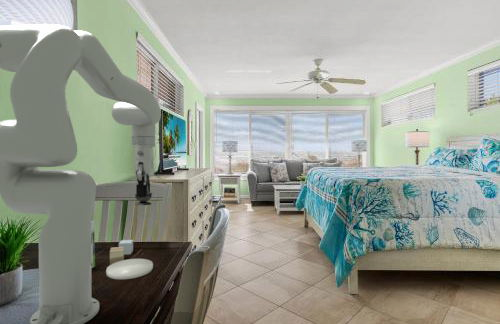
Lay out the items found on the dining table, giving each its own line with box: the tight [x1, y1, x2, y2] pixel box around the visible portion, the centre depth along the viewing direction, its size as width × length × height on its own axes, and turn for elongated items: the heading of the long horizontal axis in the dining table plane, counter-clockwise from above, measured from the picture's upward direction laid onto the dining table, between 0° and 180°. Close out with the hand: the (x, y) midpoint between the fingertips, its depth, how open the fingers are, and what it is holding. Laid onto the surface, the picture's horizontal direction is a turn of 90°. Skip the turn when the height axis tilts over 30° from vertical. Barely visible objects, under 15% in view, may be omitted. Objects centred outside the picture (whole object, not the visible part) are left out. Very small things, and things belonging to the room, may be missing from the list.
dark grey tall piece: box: [133, 174, 153, 206], centre depth 99 cm, size 6×6×12 cm
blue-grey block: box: [118, 239, 134, 256], centre depth 103 cm, size 4×4×4 cm
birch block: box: [109, 246, 125, 265], centre depth 95 cm, size 4×4×4 cm
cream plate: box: [105, 258, 154, 280], centre depth 88 cm, size 13×13×1 cm
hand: (143, 195), depth 99 cm, fingers closed on dark grey tall piece, 5 cm apart
